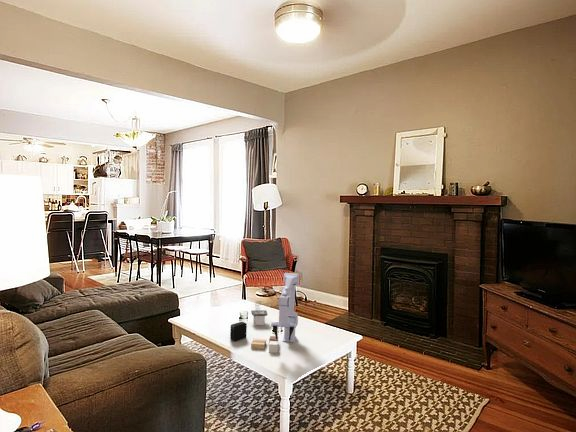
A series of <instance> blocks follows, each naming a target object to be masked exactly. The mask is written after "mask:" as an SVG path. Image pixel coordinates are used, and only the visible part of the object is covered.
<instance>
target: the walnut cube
mask: <svg viewBox="0 0 576 432" xmlns="http://www.w3.org/2000/svg"><path fill="white" fill-rule="evenodd" d="M268 340H269V341H268V342H269V343H270V341H278V342H279V336H278V337H277V339H276V336H275V335H270V337H269V339H268ZM269 343H268V344H269Z"/></svg>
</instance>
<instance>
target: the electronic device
mask: <svg viewBox="0 0 576 432" xmlns="http://www.w3.org/2000/svg"><path fill="white" fill-rule="evenodd" d="M247 327H248V326H247V323H246V322H244V321H239V322H236V323H232V324H231V325H230V333H229V334H230V337H229V339H230V340H231V341H233V342H238V341H241V340H243V339H246V338H247V331H248V330H247Z"/></svg>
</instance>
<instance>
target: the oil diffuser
mask: <svg viewBox="0 0 576 432" xmlns="http://www.w3.org/2000/svg"><path fill="white" fill-rule="evenodd" d="M254 304H255V310H251V311H250V312H251V313H250V314H251V315H252V316H253V320H252V321H253V322H252V323H253V324H254V326H264V325H265V324H266V323H265V321H266V320H265V319H266V318H265V317H267V316H268V311H267V310H265V309H264V310H263V309H262V310H261V309H259V308H258V304H257V301H255V303H254ZM259 305H261V301H259Z"/></svg>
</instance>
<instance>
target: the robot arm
mask: <svg viewBox="0 0 576 432" xmlns="http://www.w3.org/2000/svg"><path fill="white" fill-rule="evenodd" d="M283 283H284V287H283V288H282V290H281V295H280V296H279V297H278V303H277V304H278V314H279V315H278V321H277V322H276V321H275V322H273V321H272V322H271V324H270V327H272V331H273V333H274V336H276V339H277V337H278V338H279V336H278V328H280V327H281V328H283V329H284V331H283V339H282V341H283V342H290V343H296V340H297V336H296V328H297V327H298V325H299V313H297V312H295V301H296V299H295V298H296V287H299V285H300V274H299V273H295V272H294V273H293V272H292V273H290V272H284V274H283Z"/></svg>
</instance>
